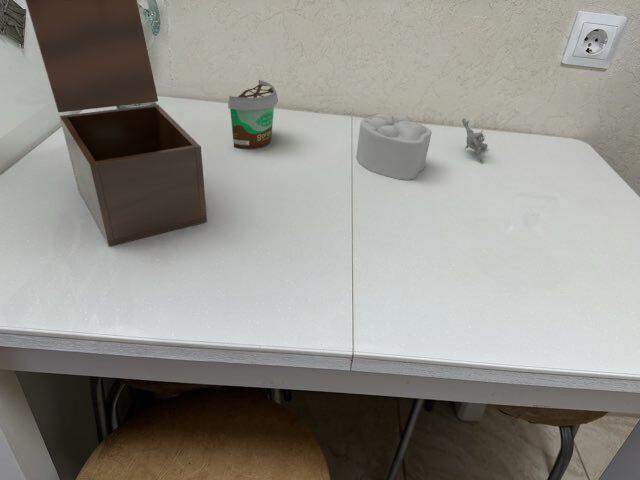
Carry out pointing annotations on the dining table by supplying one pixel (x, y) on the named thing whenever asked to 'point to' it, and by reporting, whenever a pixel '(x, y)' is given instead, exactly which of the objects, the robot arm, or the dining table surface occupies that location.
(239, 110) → the food container
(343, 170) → the dining table surface
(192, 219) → the chest
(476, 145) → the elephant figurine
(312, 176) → the dining table surface
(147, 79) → the lid
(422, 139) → the lumpy-topped squat cylinder
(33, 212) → the dining table surface
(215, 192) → the dining table surface
